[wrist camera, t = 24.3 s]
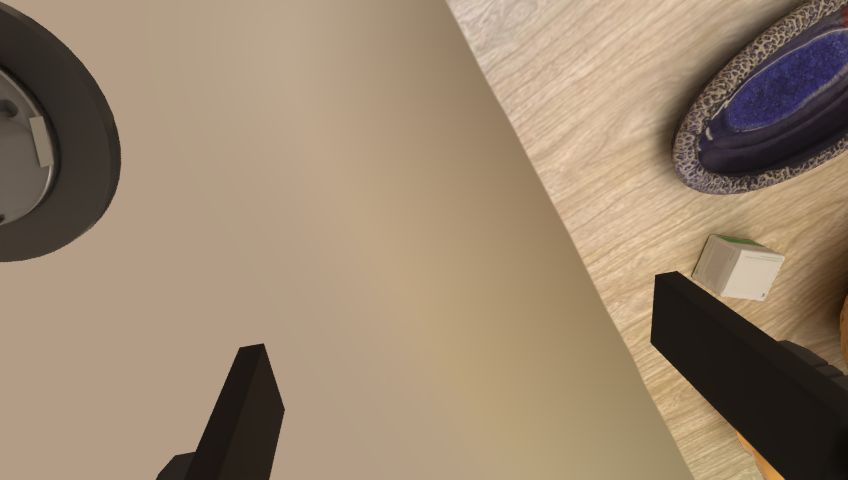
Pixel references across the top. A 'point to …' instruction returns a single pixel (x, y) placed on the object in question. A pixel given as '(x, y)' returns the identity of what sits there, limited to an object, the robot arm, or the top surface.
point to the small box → (737, 268)
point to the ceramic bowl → (844, 330)
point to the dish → (770, 106)
